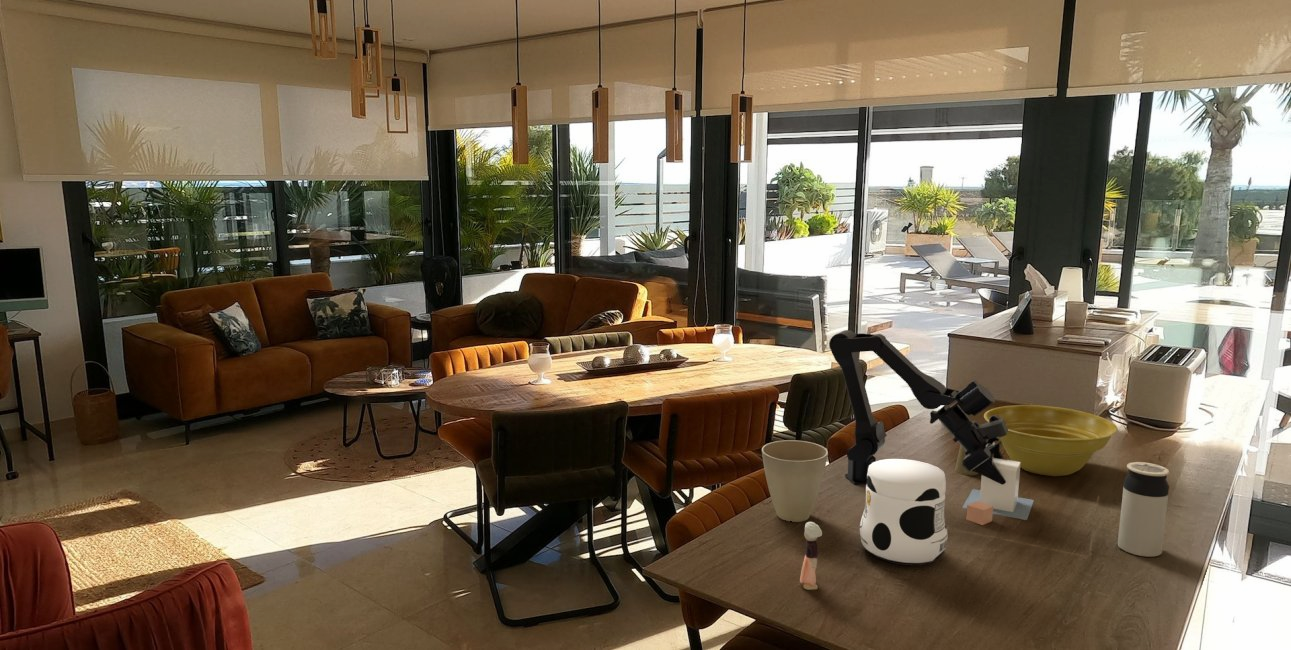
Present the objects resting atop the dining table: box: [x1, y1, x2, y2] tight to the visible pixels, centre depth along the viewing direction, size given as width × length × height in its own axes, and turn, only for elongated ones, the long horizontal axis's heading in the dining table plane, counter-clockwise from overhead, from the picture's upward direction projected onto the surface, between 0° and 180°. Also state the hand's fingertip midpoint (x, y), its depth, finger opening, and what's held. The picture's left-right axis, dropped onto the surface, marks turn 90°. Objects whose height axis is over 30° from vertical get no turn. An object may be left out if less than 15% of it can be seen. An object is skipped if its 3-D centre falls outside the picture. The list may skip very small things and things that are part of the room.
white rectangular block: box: [980, 458, 1021, 512], centre depth 194 cm, size 7×7×10 cm
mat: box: [962, 488, 1035, 521], centre depth 195 cm, size 14×14×1 cm
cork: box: [954, 444, 979, 476], centre depth 217 cm, size 6×6×11 cm
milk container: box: [859, 458, 948, 566], centre depth 169 cm, size 17×17×18 cm
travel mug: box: [1117, 461, 1170, 558], centre depth 170 cm, size 8×8×18 cm
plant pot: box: [761, 439, 829, 523], centre depth 188 cm, size 15×15×16 cm
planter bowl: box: [983, 404, 1119, 477], centre depth 220 cm, size 32×32×13 cm
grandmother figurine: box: [799, 521, 823, 591], centre depth 155 cm, size 8×4×13 cm, turn 5°
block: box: [965, 501, 994, 526], centre depth 186 cm, size 4×4×4 cm
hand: (1006, 478), depth 194 cm, fingers closed on white rectangular block, 7 cm apart
